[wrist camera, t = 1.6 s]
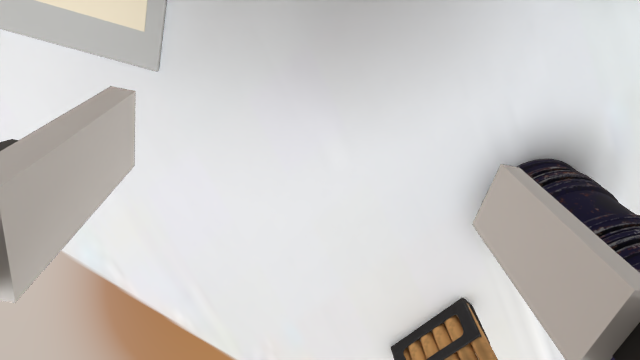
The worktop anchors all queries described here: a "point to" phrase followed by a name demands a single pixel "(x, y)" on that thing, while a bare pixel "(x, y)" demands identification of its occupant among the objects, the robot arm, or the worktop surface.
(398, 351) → the ammunition clip
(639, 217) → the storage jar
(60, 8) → the mat
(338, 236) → the worktop surface
